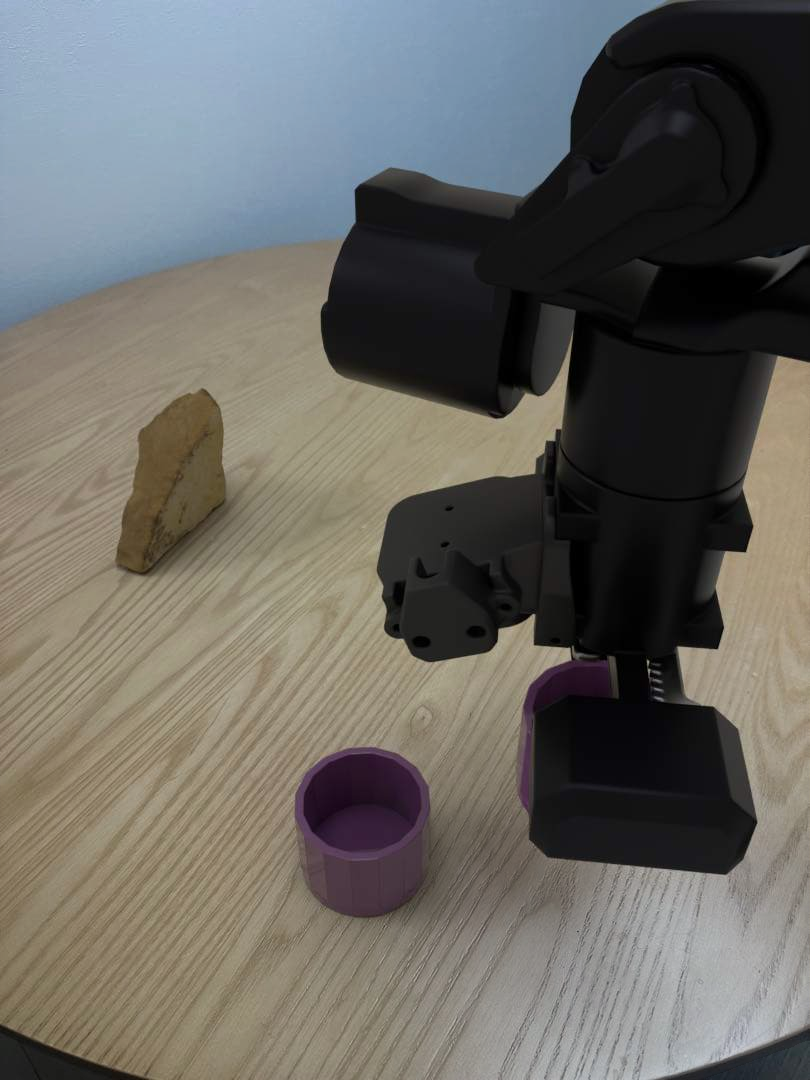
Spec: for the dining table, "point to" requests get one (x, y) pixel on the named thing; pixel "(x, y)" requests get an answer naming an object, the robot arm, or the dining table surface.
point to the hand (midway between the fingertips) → (591, 766)
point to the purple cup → (548, 689)
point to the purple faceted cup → (363, 830)
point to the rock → (173, 479)
